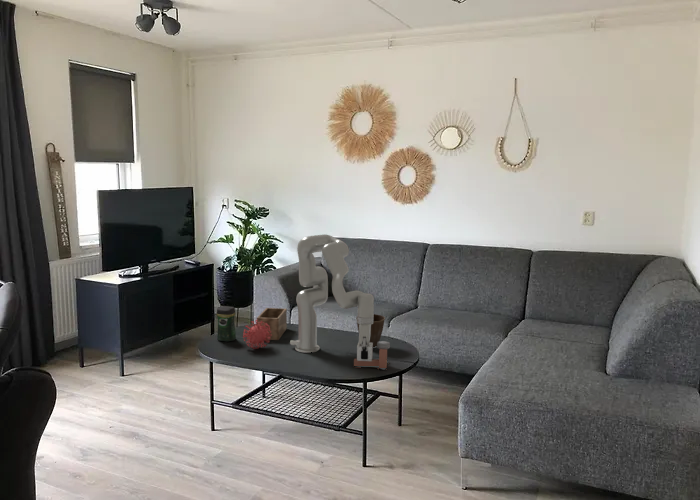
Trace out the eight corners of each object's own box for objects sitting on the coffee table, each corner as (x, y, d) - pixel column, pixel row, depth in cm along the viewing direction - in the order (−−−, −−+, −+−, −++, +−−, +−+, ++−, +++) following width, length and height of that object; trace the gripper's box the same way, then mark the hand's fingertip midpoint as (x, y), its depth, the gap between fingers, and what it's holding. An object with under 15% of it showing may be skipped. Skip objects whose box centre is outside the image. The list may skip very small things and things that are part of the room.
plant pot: (387, 350, 294) (388, 320, 292) (359, 352, 291) (359, 322, 289) (379, 342, 308) (380, 313, 306) (353, 343, 305) (353, 314, 303)
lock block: (356, 360, 267) (357, 346, 266) (358, 356, 273) (358, 342, 272) (371, 361, 266) (372, 346, 265) (372, 356, 273) (372, 342, 272)
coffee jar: (238, 338, 311) (237, 305, 308) (230, 342, 303) (230, 308, 300) (222, 336, 313) (221, 303, 311) (214, 340, 306) (214, 307, 303)
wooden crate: (256, 339, 310) (256, 317, 308) (266, 327, 332) (266, 307, 330) (278, 340, 309) (278, 318, 307) (286, 328, 331) (286, 308, 329)
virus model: (275, 344, 301) (274, 317, 299) (266, 353, 286) (266, 325, 284) (248, 343, 303) (247, 315, 301) (238, 351, 289) (238, 323, 286)
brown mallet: (353, 368, 267) (353, 344, 265) (354, 363, 274) (355, 339, 272) (389, 370, 266) (389, 345, 264) (389, 365, 273) (390, 341, 271)
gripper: (358, 314, 276) (358, 350, 278) (356, 324, 259) (355, 362, 261) (374, 315, 275) (373, 351, 278) (372, 325, 258) (371, 363, 261)
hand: (364, 356), depth 269 cm, fingers closed on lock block, 6 cm apart
